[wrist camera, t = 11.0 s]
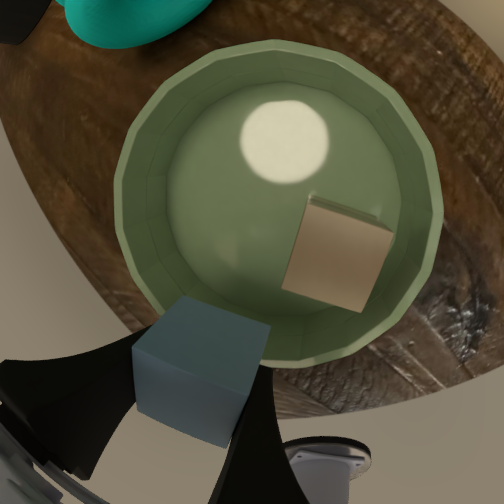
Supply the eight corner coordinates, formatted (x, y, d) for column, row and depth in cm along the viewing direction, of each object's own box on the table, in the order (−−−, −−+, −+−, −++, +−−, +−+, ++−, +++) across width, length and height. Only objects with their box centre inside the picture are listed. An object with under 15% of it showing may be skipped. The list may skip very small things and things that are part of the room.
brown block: (352, 280, 15) (361, 313, 12) (288, 260, 16) (280, 288, 12) (376, 216, 14) (395, 233, 10) (308, 193, 14) (306, 202, 11)
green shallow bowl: (353, 344, 17) (360, 395, 12) (150, 276, 19) (108, 306, 14) (433, 124, 12) (475, 111, 7) (190, 63, 14) (148, 36, 9)
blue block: (249, 386, 12) (226, 449, 9) (175, 357, 13) (136, 410, 9) (271, 325, 11) (248, 395, 7) (183, 294, 11) (130, 346, 8)
